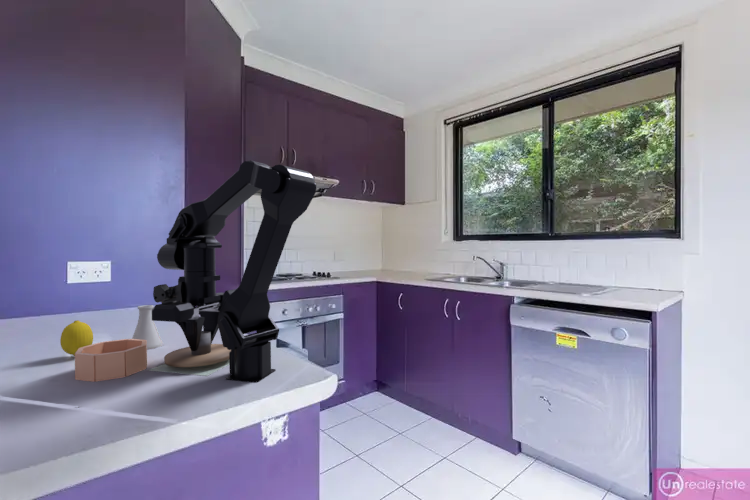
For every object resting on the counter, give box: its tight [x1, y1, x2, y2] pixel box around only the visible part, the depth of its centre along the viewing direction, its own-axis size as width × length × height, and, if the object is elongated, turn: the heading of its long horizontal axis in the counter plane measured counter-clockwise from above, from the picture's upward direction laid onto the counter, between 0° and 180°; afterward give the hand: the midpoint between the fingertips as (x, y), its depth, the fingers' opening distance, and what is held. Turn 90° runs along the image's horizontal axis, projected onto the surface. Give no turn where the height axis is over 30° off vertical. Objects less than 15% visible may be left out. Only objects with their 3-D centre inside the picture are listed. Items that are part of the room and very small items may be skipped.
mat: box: [148, 359, 229, 377], centre depth 74 cm, size 13×13×1 cm
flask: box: [131, 304, 165, 351], centre depth 86 cm, size 7×7×10 cm
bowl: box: [74, 338, 148, 382], centre depth 70 cm, size 11×11×5 cm
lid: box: [163, 330, 231, 367], centre depth 74 cm, size 13×13×5 cm
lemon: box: [59, 320, 94, 357], centre depth 80 cm, size 6×6×8 cm
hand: (201, 348), depth 74 cm, fingers closed on lid, 4 cm apart
